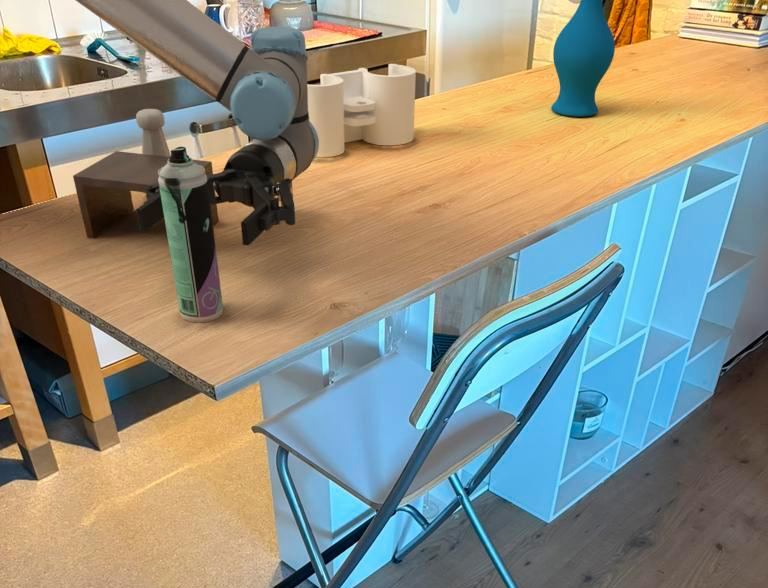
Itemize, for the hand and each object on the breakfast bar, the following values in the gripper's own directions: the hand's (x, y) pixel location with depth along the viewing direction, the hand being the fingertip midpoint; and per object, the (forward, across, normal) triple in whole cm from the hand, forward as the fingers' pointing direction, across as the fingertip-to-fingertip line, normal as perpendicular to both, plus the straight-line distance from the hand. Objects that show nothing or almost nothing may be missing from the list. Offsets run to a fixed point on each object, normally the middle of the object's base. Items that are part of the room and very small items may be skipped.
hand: (191, 227), depth 97 cm
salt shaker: (-37, +25, -11) cm, 46 cm away
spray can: (0, 0, -11) cm, 11 cm away
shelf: (-23, +19, -11) cm, 32 cm away
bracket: (-73, +2, -11) cm, 74 cm away
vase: (-110, -36, -11) cm, 117 cm away
